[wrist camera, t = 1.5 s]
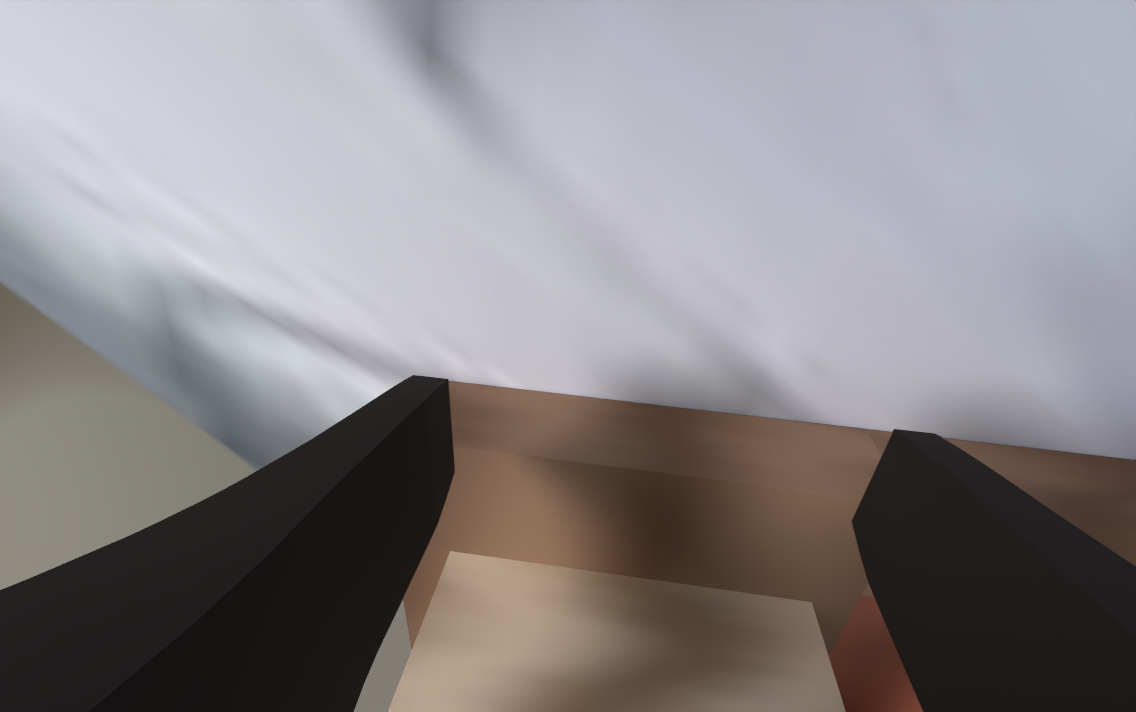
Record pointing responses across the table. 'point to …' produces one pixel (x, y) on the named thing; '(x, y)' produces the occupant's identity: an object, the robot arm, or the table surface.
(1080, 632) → the robot arm
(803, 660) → the birch block
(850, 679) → the trap deck
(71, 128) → the table surface
